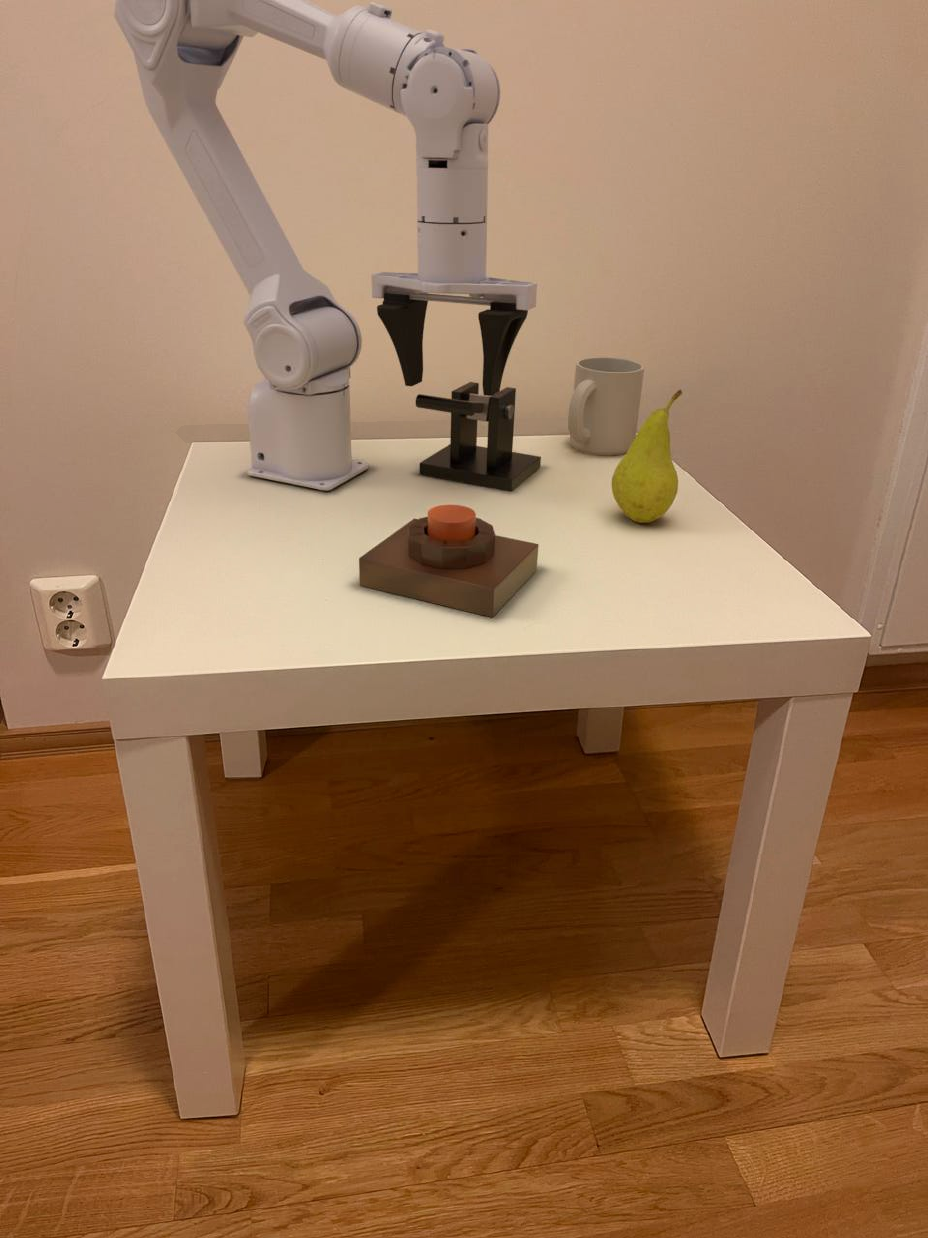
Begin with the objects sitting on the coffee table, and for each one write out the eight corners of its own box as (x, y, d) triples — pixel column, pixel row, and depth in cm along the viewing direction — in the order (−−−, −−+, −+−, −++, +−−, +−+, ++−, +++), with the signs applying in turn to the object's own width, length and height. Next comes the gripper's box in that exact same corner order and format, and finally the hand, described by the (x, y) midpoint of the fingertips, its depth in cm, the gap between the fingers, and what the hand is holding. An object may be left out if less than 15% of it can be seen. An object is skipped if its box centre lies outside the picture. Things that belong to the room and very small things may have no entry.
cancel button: (419, 538, 68) (419, 516, 67) (440, 522, 71) (440, 501, 70) (462, 547, 67) (463, 525, 66) (482, 530, 69) (483, 509, 69)
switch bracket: (511, 491, 88) (516, 406, 84) (419, 474, 91) (419, 391, 87) (540, 467, 94) (546, 387, 90) (453, 452, 98) (455, 374, 94)
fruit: (598, 509, 84) (612, 379, 78) (657, 506, 85) (675, 377, 79) (621, 534, 79) (638, 396, 73) (683, 529, 80) (704, 394, 75)
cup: (646, 446, 101) (657, 365, 97) (596, 466, 95) (604, 380, 90) (593, 432, 106) (600, 354, 101) (541, 450, 99) (546, 368, 95)
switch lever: (468, 422, 80) (472, 395, 80) (413, 413, 82) (416, 386, 81) (512, 424, 90) (515, 399, 89) (462, 416, 92) (465, 392, 91)
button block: (359, 585, 69) (357, 536, 67) (414, 543, 76) (414, 498, 74) (492, 618, 65) (495, 567, 63) (537, 570, 72) (540, 523, 70)
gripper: (350, 221, 73) (358, 389, 80) (516, 228, 68) (510, 408, 74) (392, 215, 79) (396, 372, 85) (548, 222, 74) (540, 389, 80)
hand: (451, 388), depth 80 cm, fingers open, 7 cm apart
